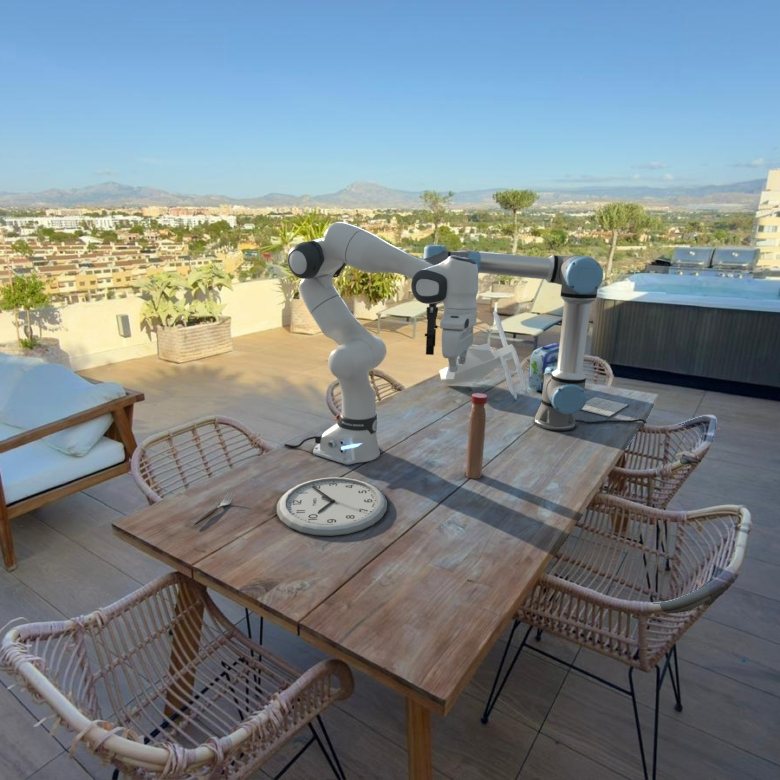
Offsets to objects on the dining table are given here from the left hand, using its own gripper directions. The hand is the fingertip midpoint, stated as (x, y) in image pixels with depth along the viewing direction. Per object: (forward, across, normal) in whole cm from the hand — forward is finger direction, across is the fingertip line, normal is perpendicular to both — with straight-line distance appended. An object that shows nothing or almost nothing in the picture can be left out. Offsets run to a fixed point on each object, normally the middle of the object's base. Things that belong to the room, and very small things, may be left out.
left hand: (457, 367), depth 145 cm
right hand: (+5, -39, -20) cm, 45 cm away
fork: (+35, +40, -54) cm, 76 cm away
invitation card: (+36, -95, +41) cm, 110 cm away
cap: (+10, -8, +5) cm, 14 cm away
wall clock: (+36, +25, -27) cm, 51 cm away
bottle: (+36, -8, +5) cm, 37 cm away
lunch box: (+36, -115, +17) cm, 121 cm away
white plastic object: (+36, -94, -12) cm, 101 cm away
